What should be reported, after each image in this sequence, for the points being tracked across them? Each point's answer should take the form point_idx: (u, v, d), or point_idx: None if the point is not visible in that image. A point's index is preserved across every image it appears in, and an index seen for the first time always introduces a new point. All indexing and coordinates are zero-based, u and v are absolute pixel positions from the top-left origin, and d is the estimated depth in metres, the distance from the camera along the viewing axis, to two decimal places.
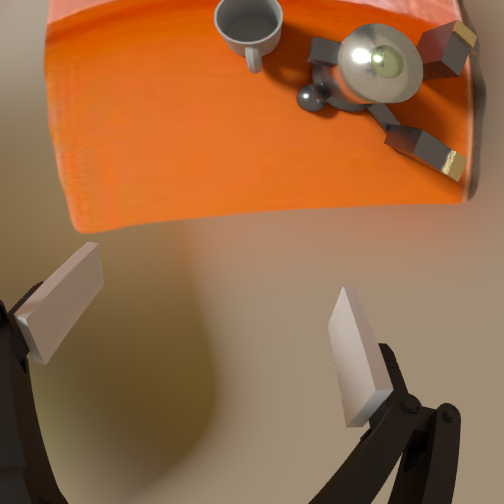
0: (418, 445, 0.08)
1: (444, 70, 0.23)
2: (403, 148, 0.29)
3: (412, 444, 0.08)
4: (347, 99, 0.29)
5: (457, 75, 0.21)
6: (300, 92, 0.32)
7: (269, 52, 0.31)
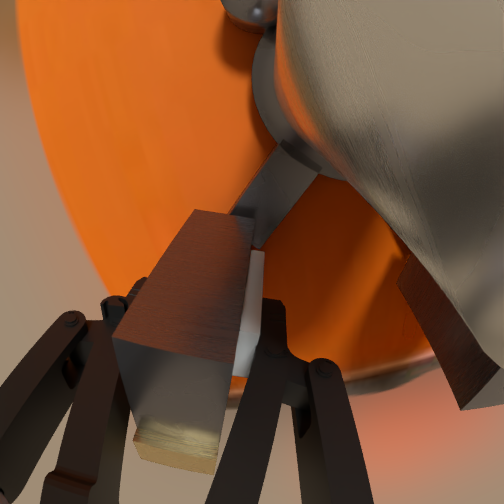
0: (296, 401, 0.10)
1: (466, 358, 0.08)
2: (152, 278, 0.09)
3: (288, 398, 0.10)
4: None
5: (462, 403, 0.08)
6: None
7: None
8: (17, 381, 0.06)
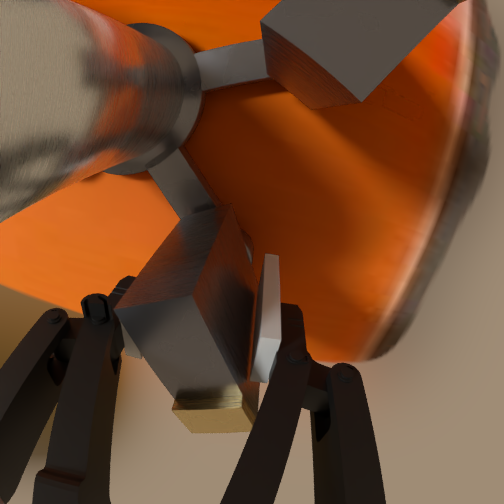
0: (316, 406, 0.09)
1: (310, 73, 0.07)
2: (145, 268, 0.11)
3: (309, 403, 0.10)
4: None
5: (353, 95, 0.06)
6: None
7: None
8: (5, 379, 0.06)
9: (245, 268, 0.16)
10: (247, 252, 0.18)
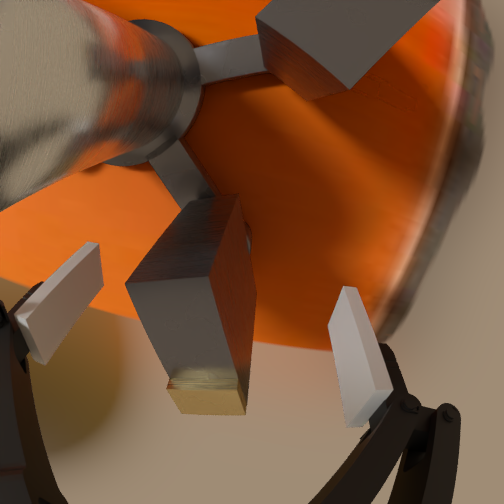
0: (418, 445, 0.08)
1: (302, 65, 0.07)
2: (155, 247, 0.12)
3: (412, 444, 0.08)
4: None
5: (342, 84, 0.06)
6: None
7: None
8: None
9: (245, 257, 0.17)
10: (247, 242, 0.18)
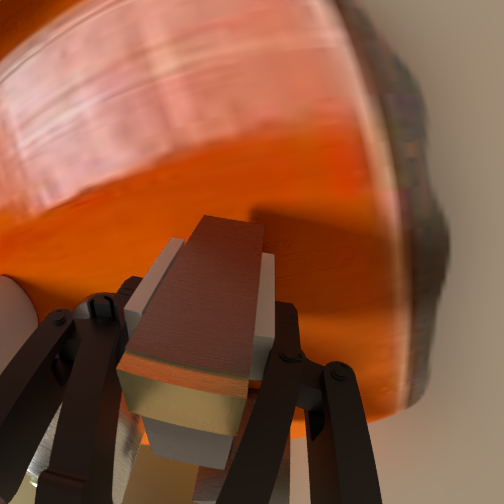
0: (310, 404, 0.10)
1: None
2: (199, 469, 0.16)
3: (303, 402, 0.10)
4: None
5: None
6: None
7: None
8: (8, 379, 0.06)
9: None
10: None
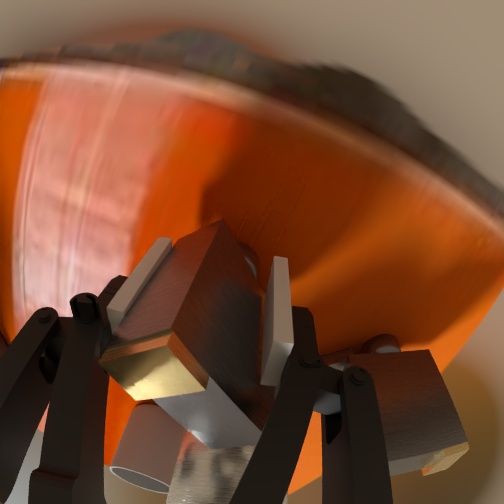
0: (328, 409, 0.09)
1: None
2: None
3: (321, 407, 0.09)
4: None
5: None
6: None
7: None
8: None
9: (394, 369, 0.18)
10: (387, 353, 0.19)
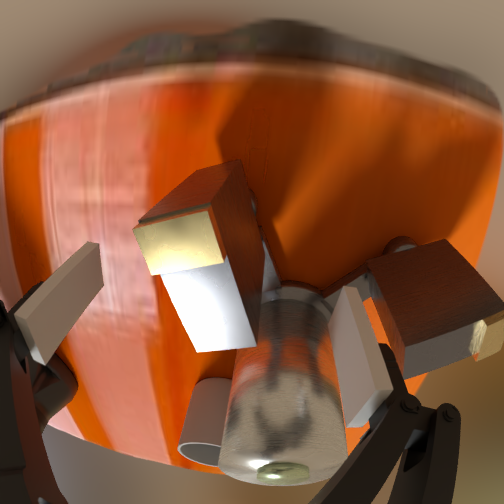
0: (418, 445, 0.08)
1: None
2: (391, 346, 0.16)
3: (412, 444, 0.08)
4: None
5: None
6: None
7: None
8: None
9: (413, 261, 0.18)
10: (404, 250, 0.20)
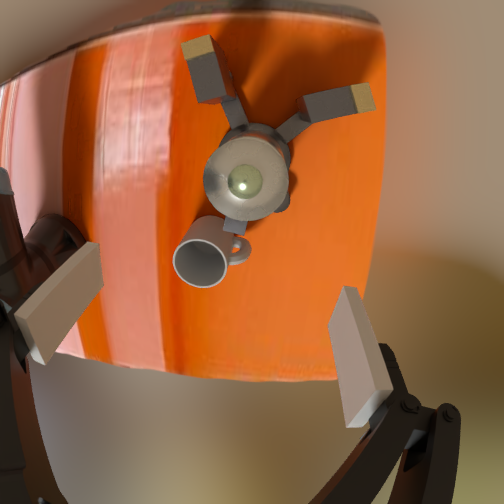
0: (418, 445, 0.08)
1: (216, 98, 0.27)
2: (307, 121, 0.29)
3: (412, 444, 0.08)
4: None
5: (224, 95, 0.26)
6: None
7: None
8: None
9: None
10: None
